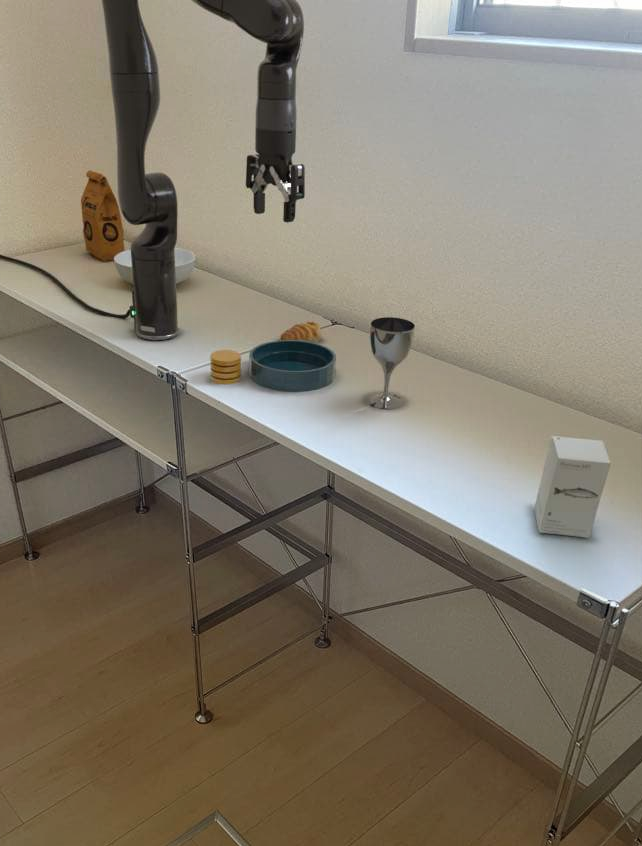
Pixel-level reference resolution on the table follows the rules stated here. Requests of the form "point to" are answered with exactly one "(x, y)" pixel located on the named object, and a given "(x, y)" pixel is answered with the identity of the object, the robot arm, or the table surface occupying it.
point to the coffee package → (101, 219)
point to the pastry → (303, 332)
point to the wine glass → (390, 352)
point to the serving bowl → (182, 264)
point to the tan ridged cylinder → (225, 367)
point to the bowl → (292, 365)
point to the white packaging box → (571, 486)
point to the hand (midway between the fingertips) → (273, 217)
